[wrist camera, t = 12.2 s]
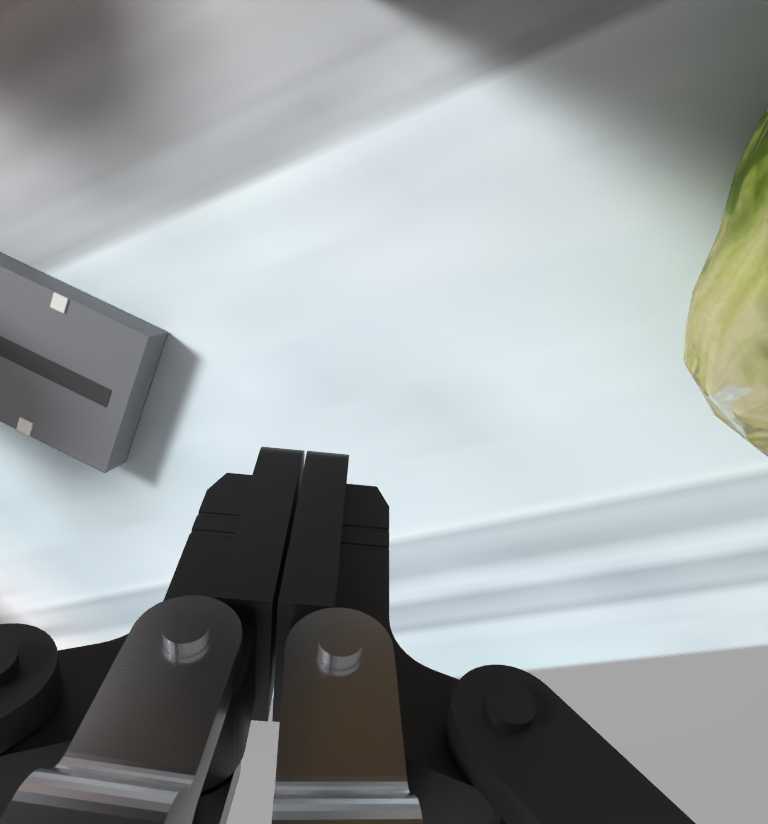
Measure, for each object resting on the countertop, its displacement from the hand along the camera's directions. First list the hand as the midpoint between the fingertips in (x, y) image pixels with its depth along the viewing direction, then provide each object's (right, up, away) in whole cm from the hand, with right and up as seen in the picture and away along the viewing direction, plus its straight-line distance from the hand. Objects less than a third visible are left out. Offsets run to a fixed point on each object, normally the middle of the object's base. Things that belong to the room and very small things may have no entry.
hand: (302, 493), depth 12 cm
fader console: (-21, +7, +26) cm, 34 cm away
